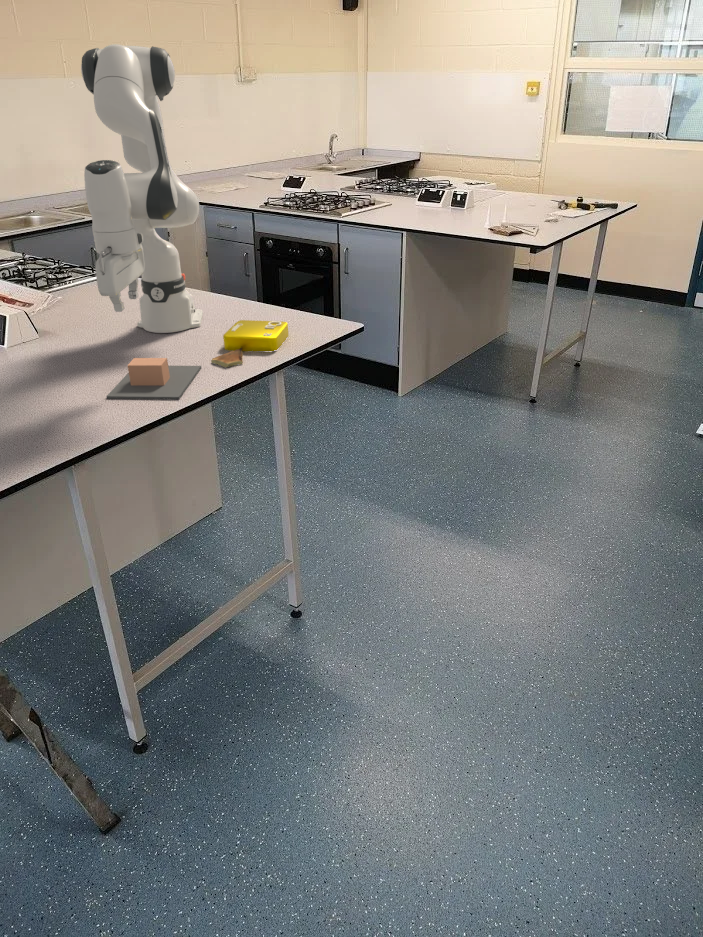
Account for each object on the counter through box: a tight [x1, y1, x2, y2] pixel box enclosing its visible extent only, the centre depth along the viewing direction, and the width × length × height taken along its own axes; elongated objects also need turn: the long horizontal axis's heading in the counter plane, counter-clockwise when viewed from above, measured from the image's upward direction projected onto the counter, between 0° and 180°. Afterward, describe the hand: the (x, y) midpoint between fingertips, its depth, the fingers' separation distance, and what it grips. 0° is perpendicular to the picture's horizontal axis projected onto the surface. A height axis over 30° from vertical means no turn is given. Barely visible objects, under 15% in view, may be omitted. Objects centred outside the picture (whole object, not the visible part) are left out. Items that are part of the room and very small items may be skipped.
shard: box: [211, 348, 244, 368], centre depth 187 cm, size 11×8×2 cm
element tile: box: [222, 319, 290, 352], centre depth 198 cm, size 15×15×5 cm
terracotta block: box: [127, 357, 170, 385], centre depth 172 cm, size 5×5×8 cm
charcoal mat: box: [106, 365, 202, 400], centre depth 174 cm, size 20×17×1 cm
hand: (127, 304), depth 164 cm, fingers open, 8 cm apart
